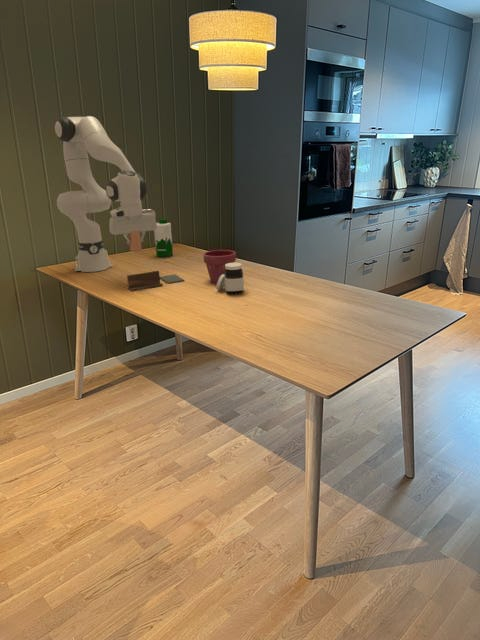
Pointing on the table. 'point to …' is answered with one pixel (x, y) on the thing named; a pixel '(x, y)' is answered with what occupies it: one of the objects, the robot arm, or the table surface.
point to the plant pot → (218, 262)
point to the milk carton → (163, 239)
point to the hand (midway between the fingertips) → (135, 242)
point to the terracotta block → (135, 241)
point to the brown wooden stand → (144, 281)
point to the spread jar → (232, 279)
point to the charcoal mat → (171, 279)
